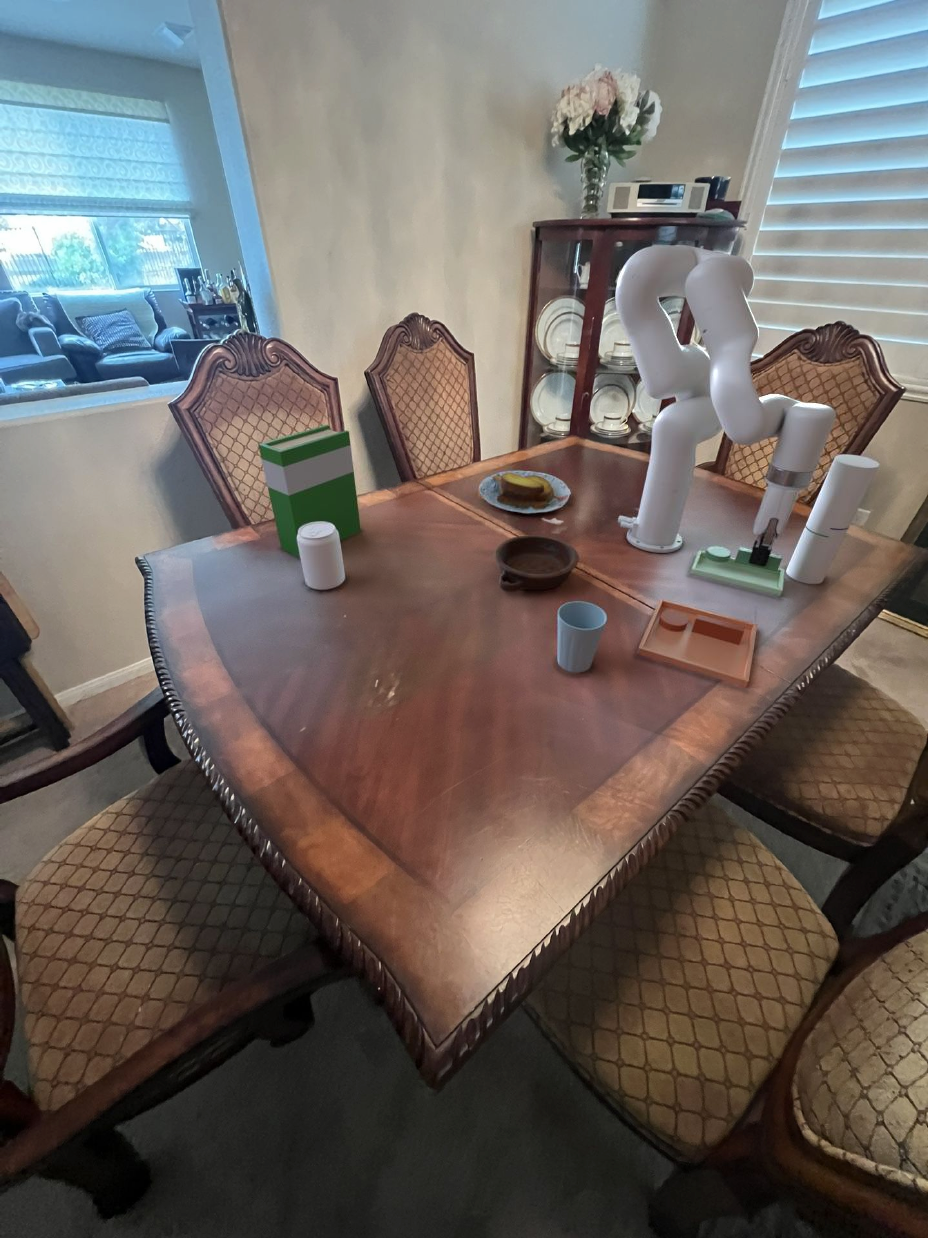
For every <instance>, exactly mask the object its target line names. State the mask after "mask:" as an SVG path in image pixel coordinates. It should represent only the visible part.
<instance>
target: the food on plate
mask: <svg viewBox="0 0 928 1238" xmlns="http://www.w3.org/2000/svg"><path fill="white" fill-rule="evenodd" d="M477 495H478V498H479V499H480V498H481V500H484V502H486V503H487V504H489V505H491V506H493V507H496V508H497V509H502V511H503V510H505V511H510V512H513V513H514V512H517V513H521V514H537V513H548V512H553V511H555V510H558V509H559V510H560V509H561V508H563V507H564V505H565V504H566V503H567V502H568V500H569V498H570V495H572V490H571V489H570V487H568V485H567V484H566V482H564V481H563V480H562V479H560V478H558V477H557V476H554V475H551V474H548V473H544V472H540V471H539V472H537V471H533V470H520V469H519V470H505V471H499V472H497V473H492V474H491V475H489V476H486V477H485V478H484V479H483V480H482V481H480V483H479V484H478V486H477Z"/></svg>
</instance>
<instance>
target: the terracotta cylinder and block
mask: <svg viewBox="0 0 928 1238" xmlns="http://www.w3.org/2000/svg"><path fill="white" fill-rule="evenodd" d="M659 623H660V625H661V626H662V627H663V628H665V629H667V630H669V631H674V632H679V631H683V630H684V629H685V628H686V626H687V623H688V619H687V617H686V616H685V615H684V614H682V613H680V612H677V611H673V610H668V611H664V612H662V613H661V616H660V619H659ZM744 630H745V627H743V626H739V625H736V624H732V623H728V622H725V621H721V620H717V619H714V618H710V617H706V616H703V615H699V614H697V616H696V619H695V622H694V625H693V628H692V632H695V633H698V634H702V635H705V636H709V637H712V638H716V639H719V640H723V641H726V642H730V643H733V644H737V645H739V643H740V641H741V638H742V636H743V634H744Z"/></svg>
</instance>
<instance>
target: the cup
mask: <svg viewBox="0 0 928 1238" xmlns="http://www.w3.org/2000/svg"><path fill="white" fill-rule="evenodd" d="M607 616H608V615H607V613H606V611H605V610H604V609H603V608H601V607H600V606H598V605H597V604H594V603H591V602H587V601H580V600H579V601H578V600H576V601H569V602H566V603H564V604H562V605H561V606H560V607H559V608H558V610H557V650H556V651H557V653H556V655H557V660H556V661H557V663H558V665H559V667H561V668H562V669H563V670H565V671H568V672H569V673H576V674H577V673H578V674H579V673H584V672H586V671H588V670H589V669H590V668H591V667H592V663H593V661H594V657H595V655H596V653H597V649H598V646H599V643H600V640H601V638H602V635H603V632H604V630H605V627H606V626H607V625H606V624H607V621H608V617H607Z"/></svg>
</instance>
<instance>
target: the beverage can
mask: <svg viewBox="0 0 928 1238" xmlns="http://www.w3.org/2000/svg"><path fill="white" fill-rule="evenodd" d="M297 543H298V548H299V553H300V558H301V559H300V558H299V559H300V561H301V566H302V572H303V577H304V582H305V585H307V586H308V587H309V588H311V589H313V590H319V591H321V590H322V591H323V590H324V591H325V590H330V589H334V588H336V587H338V586H340V585H341V584H343V582H344V581H345V580H346V573H345V566H344V560H343V559H344V558H343V552H342V547H341V545H342V544H341V541H340V538H339V533H338V531H337V530H336V528H335V526H334V525H333V524H331V523H329V522H322V521H319V522H311V523H308V524H305V525H303V526H301V527H300V528H299V530H298V535H297Z"/></svg>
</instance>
